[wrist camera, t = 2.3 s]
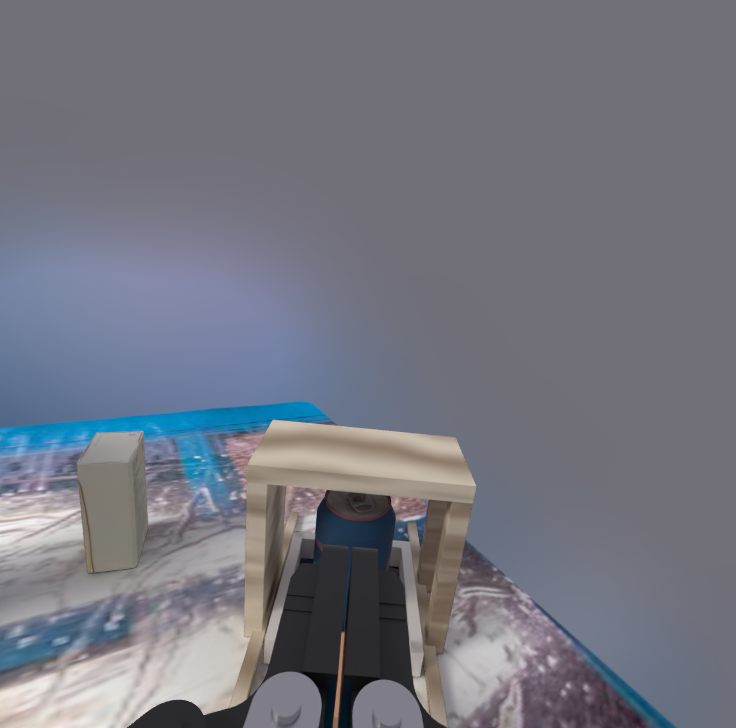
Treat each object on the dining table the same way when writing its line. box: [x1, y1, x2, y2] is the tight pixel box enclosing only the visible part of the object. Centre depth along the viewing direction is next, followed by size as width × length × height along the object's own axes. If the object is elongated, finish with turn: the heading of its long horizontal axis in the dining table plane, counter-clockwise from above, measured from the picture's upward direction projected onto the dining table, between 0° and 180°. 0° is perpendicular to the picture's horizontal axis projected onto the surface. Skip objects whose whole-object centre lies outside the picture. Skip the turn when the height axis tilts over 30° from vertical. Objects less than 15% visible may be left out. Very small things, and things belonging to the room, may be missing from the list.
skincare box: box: [77, 431, 148, 573], centre depth 41 cm, size 6×4×12 cm
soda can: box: [313, 490, 396, 632], centre depth 37 cm, size 7×7×12 cm
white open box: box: [264, 531, 424, 728], centre depth 31 cm, size 24×12×13 cm, turn 179°
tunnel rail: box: [229, 420, 476, 727], centre depth 29 cm, size 39×17×16 cm, turn 179°
